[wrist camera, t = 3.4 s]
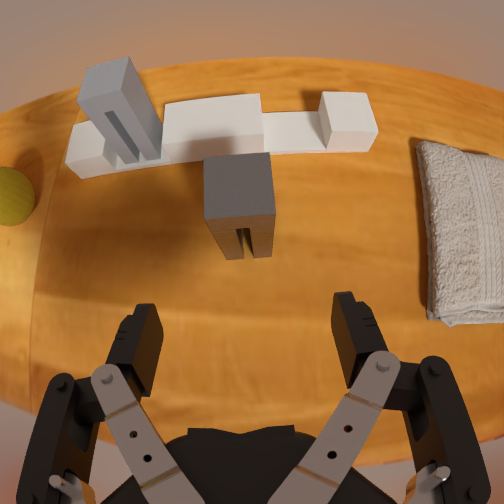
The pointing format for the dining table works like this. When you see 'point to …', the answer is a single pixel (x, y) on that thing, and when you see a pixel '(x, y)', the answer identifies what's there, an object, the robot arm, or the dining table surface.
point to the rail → (201, 126)
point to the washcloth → (463, 234)
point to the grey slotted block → (240, 202)
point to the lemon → (15, 197)
